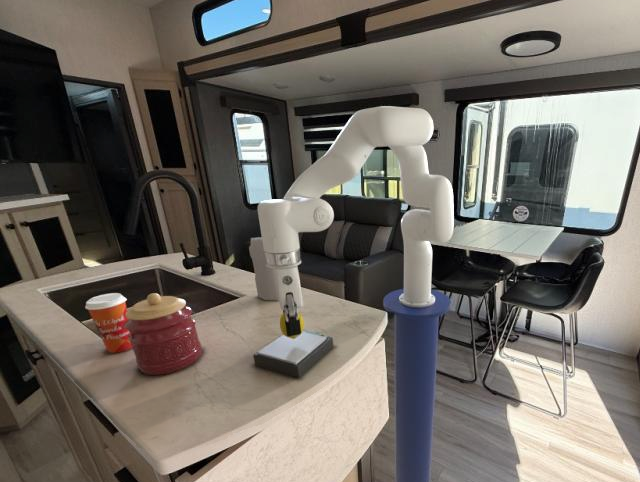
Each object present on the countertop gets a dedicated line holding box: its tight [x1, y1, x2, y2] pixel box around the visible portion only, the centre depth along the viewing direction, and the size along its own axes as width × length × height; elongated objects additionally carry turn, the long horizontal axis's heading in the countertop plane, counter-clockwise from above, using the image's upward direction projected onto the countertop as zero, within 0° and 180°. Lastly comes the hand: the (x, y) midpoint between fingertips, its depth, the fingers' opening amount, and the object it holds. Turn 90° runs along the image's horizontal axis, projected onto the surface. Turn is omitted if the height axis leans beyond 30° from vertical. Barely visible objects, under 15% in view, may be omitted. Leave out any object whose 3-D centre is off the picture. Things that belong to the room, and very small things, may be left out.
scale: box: [252, 329, 334, 379], centre depth 79 cm, size 14×13×4 cm
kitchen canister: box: [124, 292, 202, 376], centre depth 75 cm, size 13×13×18 cm
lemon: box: [279, 311, 305, 339], centre depth 77 cm, size 6×6×8 cm
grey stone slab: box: [248, 237, 279, 301], centre depth 110 cm, size 11×4×22 cm, turn 69°
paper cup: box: [85, 292, 133, 354], centre depth 81 cm, size 8×8×14 cm
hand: (292, 328), depth 77 cm, fingers closed on lemon, 5 cm apart
